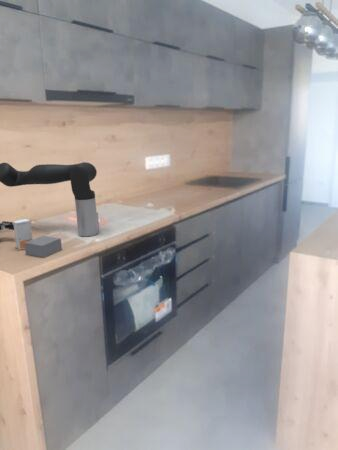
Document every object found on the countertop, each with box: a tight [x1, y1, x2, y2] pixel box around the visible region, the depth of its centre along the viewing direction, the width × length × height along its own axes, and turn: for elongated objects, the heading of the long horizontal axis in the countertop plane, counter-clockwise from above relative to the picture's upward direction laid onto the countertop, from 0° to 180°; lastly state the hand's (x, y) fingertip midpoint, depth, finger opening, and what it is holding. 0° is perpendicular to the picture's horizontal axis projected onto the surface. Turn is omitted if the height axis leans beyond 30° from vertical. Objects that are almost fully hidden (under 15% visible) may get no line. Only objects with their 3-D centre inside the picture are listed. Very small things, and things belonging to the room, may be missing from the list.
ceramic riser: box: [24, 235, 63, 259], centre depth 150 cm, size 10×10×5 cm
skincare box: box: [12, 218, 33, 251], centre depth 156 cm, size 6×4×12 cm
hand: (7, 230), depth 160 cm, fingers open, 8 cm apart
